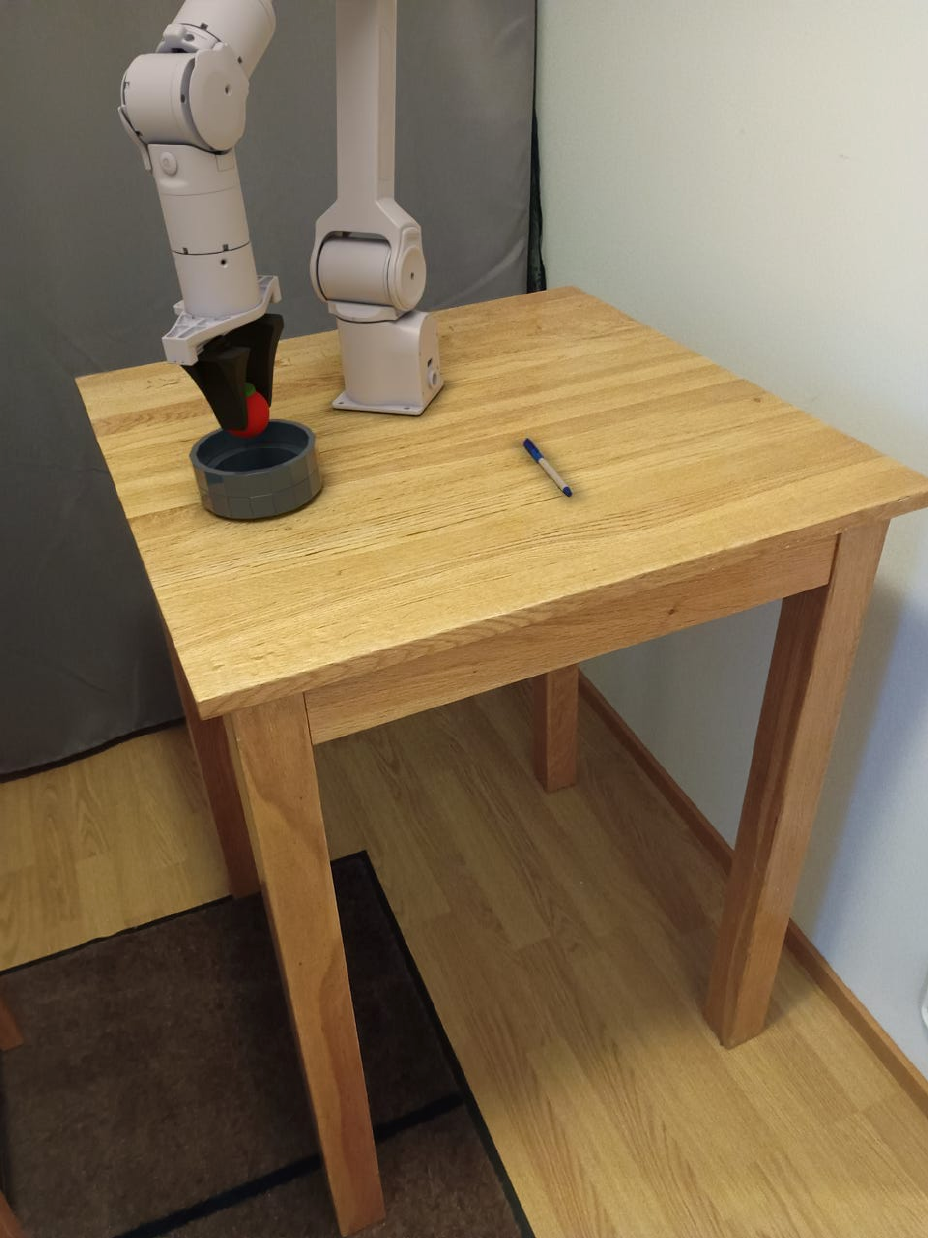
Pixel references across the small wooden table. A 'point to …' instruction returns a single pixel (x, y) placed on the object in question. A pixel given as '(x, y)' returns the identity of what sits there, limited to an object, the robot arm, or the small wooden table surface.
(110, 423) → the small wooden table surface
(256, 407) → the tomato
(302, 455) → the dessert bowl
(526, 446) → the ballpoint pen
